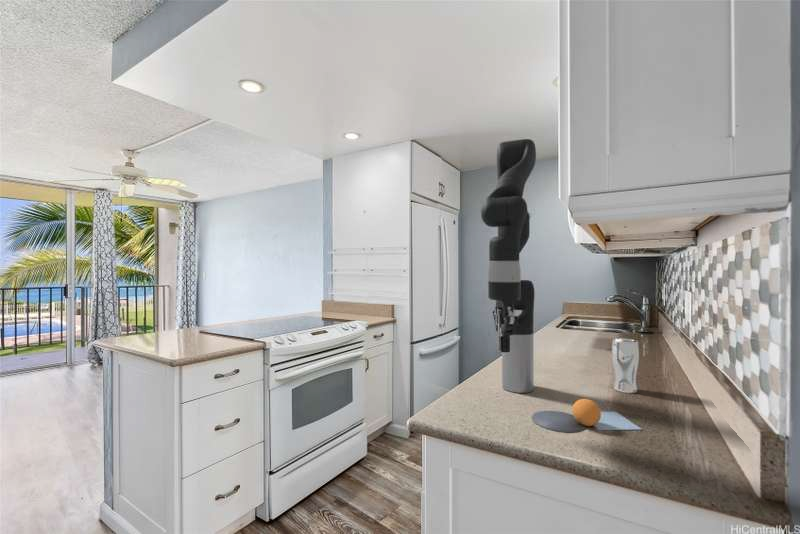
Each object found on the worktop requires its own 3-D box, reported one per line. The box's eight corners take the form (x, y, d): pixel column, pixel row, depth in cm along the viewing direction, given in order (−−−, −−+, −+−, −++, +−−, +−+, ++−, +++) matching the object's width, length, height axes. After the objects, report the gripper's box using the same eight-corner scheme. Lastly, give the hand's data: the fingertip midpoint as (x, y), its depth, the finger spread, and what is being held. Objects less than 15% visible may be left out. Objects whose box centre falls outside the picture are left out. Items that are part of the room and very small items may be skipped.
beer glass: (638, 388, 113) (638, 339, 113) (639, 395, 107) (639, 343, 107) (612, 384, 116) (611, 337, 116) (611, 391, 110) (611, 341, 110)
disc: (524, 411, 95) (524, 410, 95) (571, 411, 95) (571, 410, 95) (543, 432, 83) (543, 431, 83) (596, 432, 83) (596, 431, 83)
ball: (562, 408, 90) (578, 389, 90) (581, 422, 91) (597, 403, 90) (575, 421, 84) (591, 401, 84) (594, 436, 85) (611, 416, 84)
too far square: (576, 412, 94) (576, 412, 94) (615, 412, 94) (615, 411, 94) (598, 430, 84) (598, 429, 84) (641, 429, 84) (641, 429, 84)
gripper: (529, 281, 82) (529, 358, 82) (511, 278, 96) (511, 345, 96) (496, 281, 82) (496, 358, 82) (482, 279, 95) (482, 345, 96)
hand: (504, 351), depth 89 cm, fingers closed
